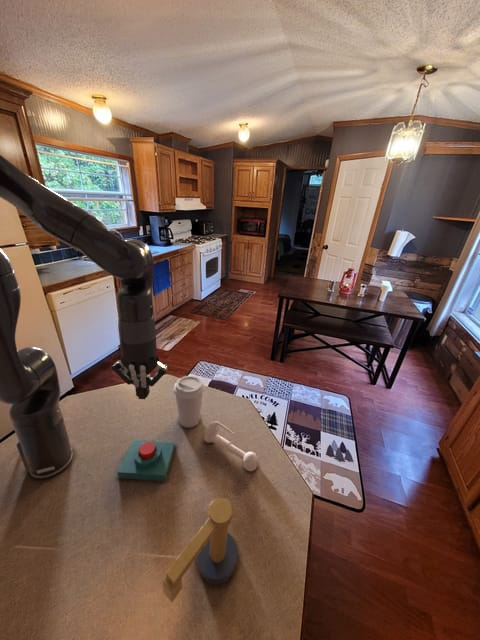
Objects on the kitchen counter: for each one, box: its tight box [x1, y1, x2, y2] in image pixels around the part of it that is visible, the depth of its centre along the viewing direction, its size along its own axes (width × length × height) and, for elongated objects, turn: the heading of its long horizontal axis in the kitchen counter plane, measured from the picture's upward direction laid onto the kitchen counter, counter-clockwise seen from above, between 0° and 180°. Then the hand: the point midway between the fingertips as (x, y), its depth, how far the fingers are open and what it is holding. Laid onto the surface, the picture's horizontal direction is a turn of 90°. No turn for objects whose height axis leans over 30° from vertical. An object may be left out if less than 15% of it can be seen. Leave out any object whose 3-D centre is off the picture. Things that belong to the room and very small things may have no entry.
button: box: [139, 442, 156, 459], centre depth 68 cm, size 4×4×2 cm
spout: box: [161, 497, 233, 604], centre depth 42 cm, size 14×4×5 cm, turn 143°
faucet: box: [203, 420, 259, 472], centre depth 73 cm, size 4×18×10 cm, turn 57°
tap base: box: [196, 527, 238, 586], centre depth 49 cm, size 8×8×13 cm
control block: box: [117, 439, 176, 482], centre depth 69 cm, size 12×10×4 cm
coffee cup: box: [173, 375, 205, 429], centre depth 81 cm, size 10×10×15 cm
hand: (143, 396), depth 63 cm, fingers closed
